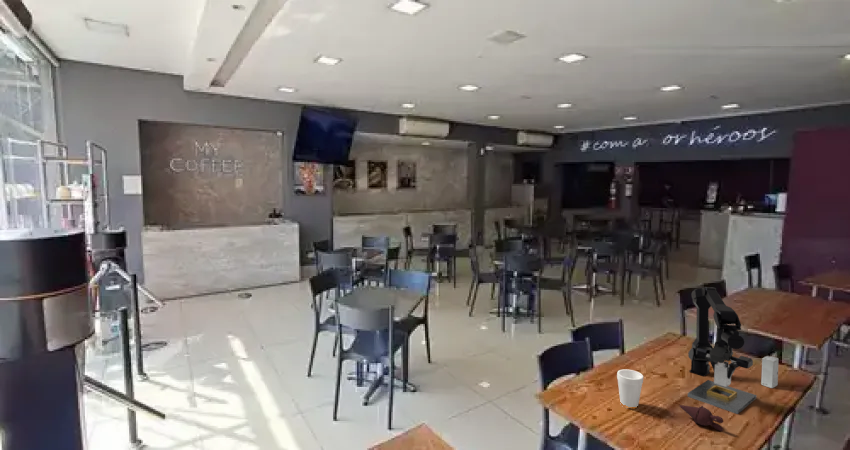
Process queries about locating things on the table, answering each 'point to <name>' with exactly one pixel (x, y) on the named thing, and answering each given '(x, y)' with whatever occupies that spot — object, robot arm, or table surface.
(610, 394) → the table surface
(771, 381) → the skincare box
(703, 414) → the icecream
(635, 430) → the table surface
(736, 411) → the grey peg insertion board
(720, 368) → the brushed metal block
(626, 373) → the foam cup
